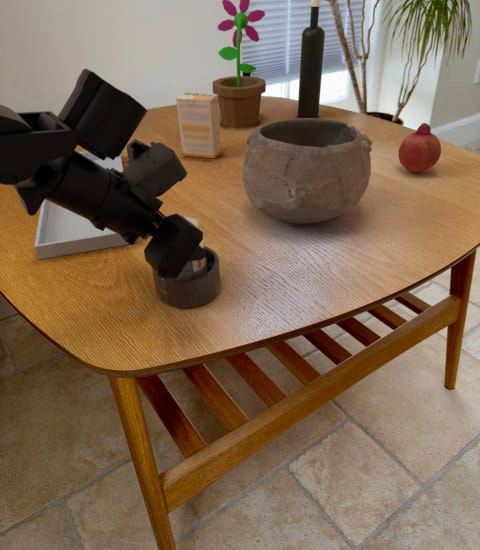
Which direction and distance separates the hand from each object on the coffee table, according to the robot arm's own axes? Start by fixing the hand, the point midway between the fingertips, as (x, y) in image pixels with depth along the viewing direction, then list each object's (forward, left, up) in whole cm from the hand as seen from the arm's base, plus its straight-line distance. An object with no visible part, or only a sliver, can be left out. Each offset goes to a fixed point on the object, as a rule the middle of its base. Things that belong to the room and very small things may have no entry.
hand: (192, 245), depth 58 cm
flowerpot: (+26, +69, -7) cm, 74 cm away
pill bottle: (-1, 0, -6) cm, 7 cm away
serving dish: (-15, +34, -7) cm, 37 cm away
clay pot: (+22, +15, -7) cm, 27 cm away
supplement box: (+11, +49, -7) cm, 50 cm away
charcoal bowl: (-1, 0, -7) cm, 7 cm away
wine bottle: (+45, +66, -7) cm, 80 cm away
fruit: (+51, +24, -7) cm, 57 cm away
